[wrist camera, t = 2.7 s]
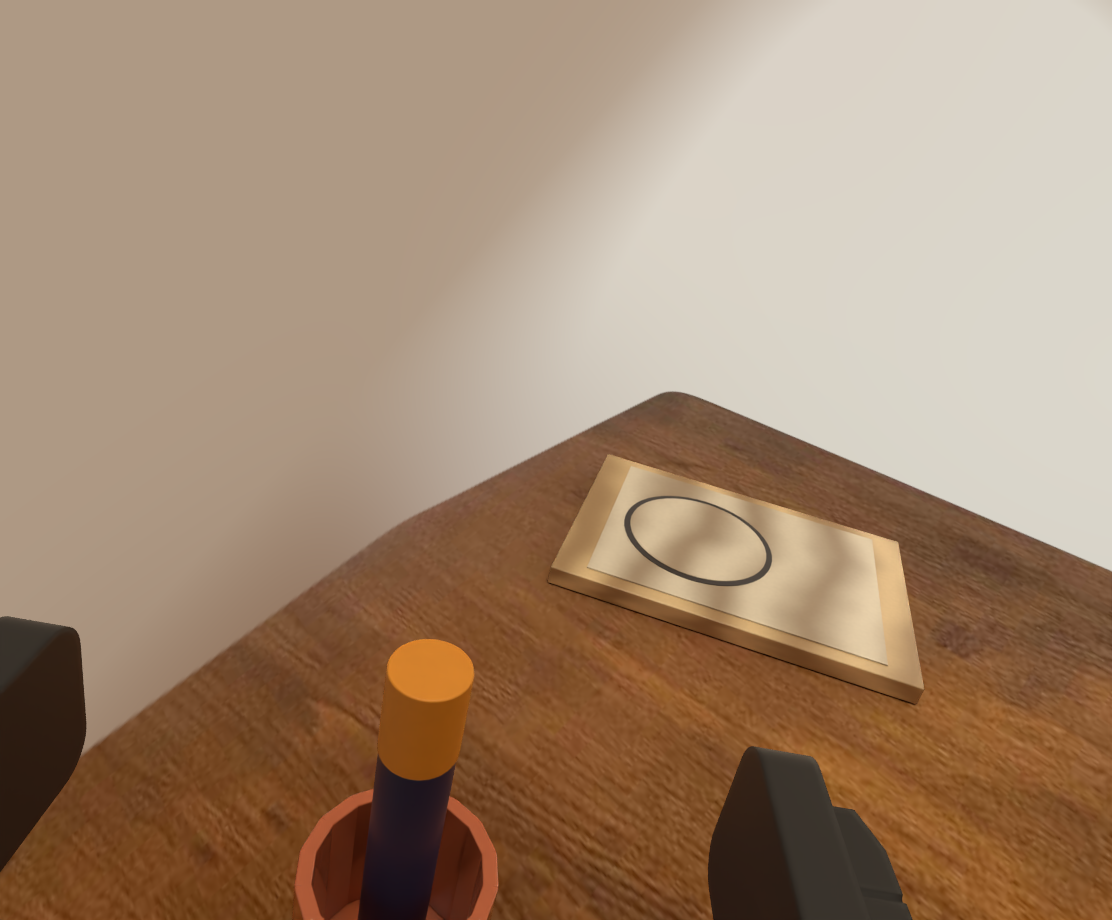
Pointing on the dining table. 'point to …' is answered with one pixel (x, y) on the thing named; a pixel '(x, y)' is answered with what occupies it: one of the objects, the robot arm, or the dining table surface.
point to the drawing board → (745, 575)
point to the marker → (413, 776)
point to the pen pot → (339, 861)
